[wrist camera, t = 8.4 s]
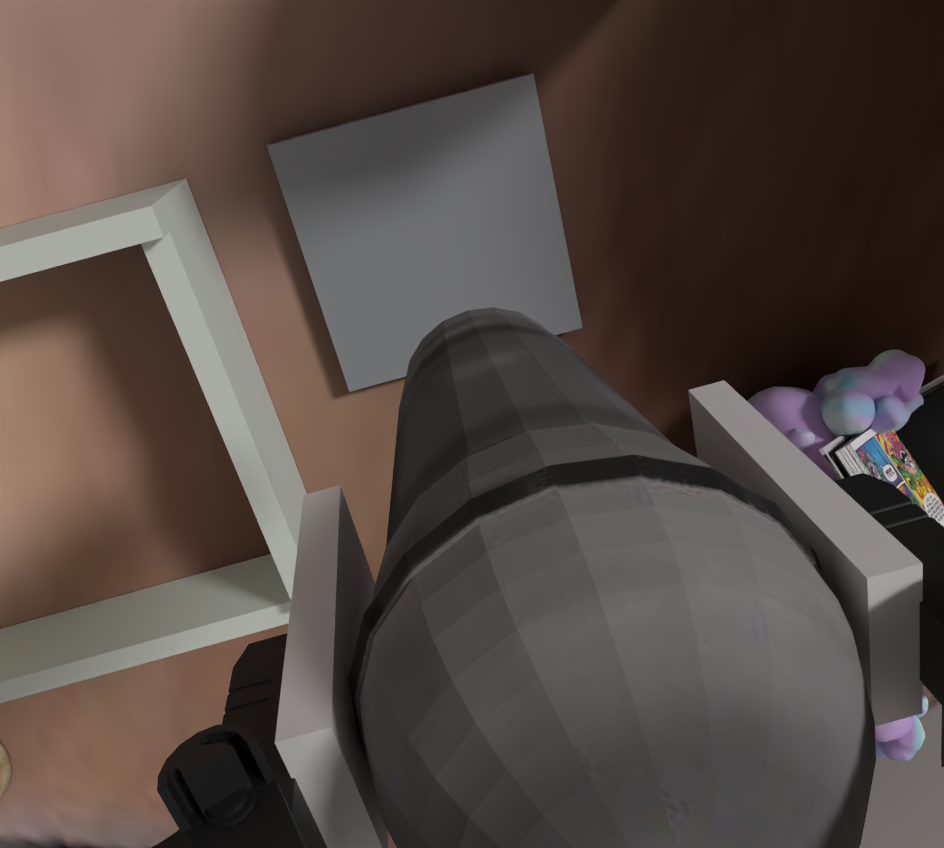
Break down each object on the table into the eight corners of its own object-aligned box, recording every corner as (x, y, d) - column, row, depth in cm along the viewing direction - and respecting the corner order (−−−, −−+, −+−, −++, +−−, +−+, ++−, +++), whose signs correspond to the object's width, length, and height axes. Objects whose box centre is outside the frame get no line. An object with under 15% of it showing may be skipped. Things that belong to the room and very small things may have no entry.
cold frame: (-295, 308, 37) (-430, 363, 31) (185, 178, 37) (151, 206, 31) (-55, 663, 46) (-121, 762, 40) (330, 556, 46) (326, 637, 40)
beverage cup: (409, 211, 21) (793, 1435, 2) (662, 311, 22) (1915, 1411, 4) (315, 460, 23) (166, 1983, 5) (550, 531, 25) (1059, 1814, 7)
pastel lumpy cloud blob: (558, 669, 46) (848, 957, 34) (694, 299, 37) (1151, 518, 25) (760, 587, 59) (1020, 775, 47) (897, 298, 50) (1261, 443, 38)
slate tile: (268, 143, 37) (266, 145, 36) (529, 72, 37) (533, 73, 36) (349, 384, 42) (349, 391, 41) (577, 321, 42) (582, 327, 41)
